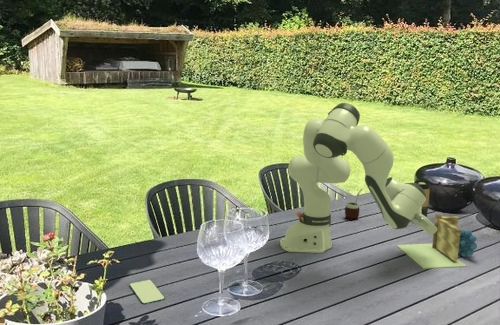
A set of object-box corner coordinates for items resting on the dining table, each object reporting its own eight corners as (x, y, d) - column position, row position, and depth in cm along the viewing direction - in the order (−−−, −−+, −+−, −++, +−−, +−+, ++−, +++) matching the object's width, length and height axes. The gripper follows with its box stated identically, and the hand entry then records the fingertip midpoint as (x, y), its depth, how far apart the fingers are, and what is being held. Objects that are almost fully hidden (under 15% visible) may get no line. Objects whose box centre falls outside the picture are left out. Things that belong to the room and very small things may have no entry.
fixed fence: (433, 249, 218) (437, 216, 214) (431, 247, 220) (434, 214, 217) (456, 248, 219) (459, 215, 216) (453, 246, 221) (456, 213, 218)
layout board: (423, 268, 198) (423, 267, 198) (396, 245, 221) (397, 244, 221) (466, 266, 201) (466, 265, 201) (435, 244, 224) (435, 243, 224)
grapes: (482, 260, 207) (486, 232, 204) (469, 263, 204) (473, 234, 202) (461, 250, 217) (464, 223, 215) (448, 252, 215) (451, 225, 212)
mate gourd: (343, 220, 254) (345, 191, 250) (345, 215, 261) (347, 187, 258) (359, 222, 251) (360, 192, 248) (360, 217, 259) (362, 188, 256)
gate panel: (458, 260, 204) (461, 230, 201) (453, 261, 204) (457, 230, 201) (439, 247, 217) (442, 218, 215) (435, 248, 217) (438, 218, 214)
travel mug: (424, 219, 258) (428, 180, 253) (428, 224, 250) (432, 184, 246) (409, 218, 258) (412, 180, 254) (412, 223, 251) (415, 184, 247)
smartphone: (165, 301, 171) (150, 281, 184) (165, 298, 171) (150, 279, 184) (142, 306, 167) (128, 286, 181) (142, 303, 167) (128, 283, 180)
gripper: (427, 212, 193) (449, 236, 196) (404, 197, 212) (425, 218, 216) (415, 224, 193) (437, 247, 196) (393, 207, 213) (414, 229, 216)
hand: (430, 232), depth 206 cm, fingers closed
